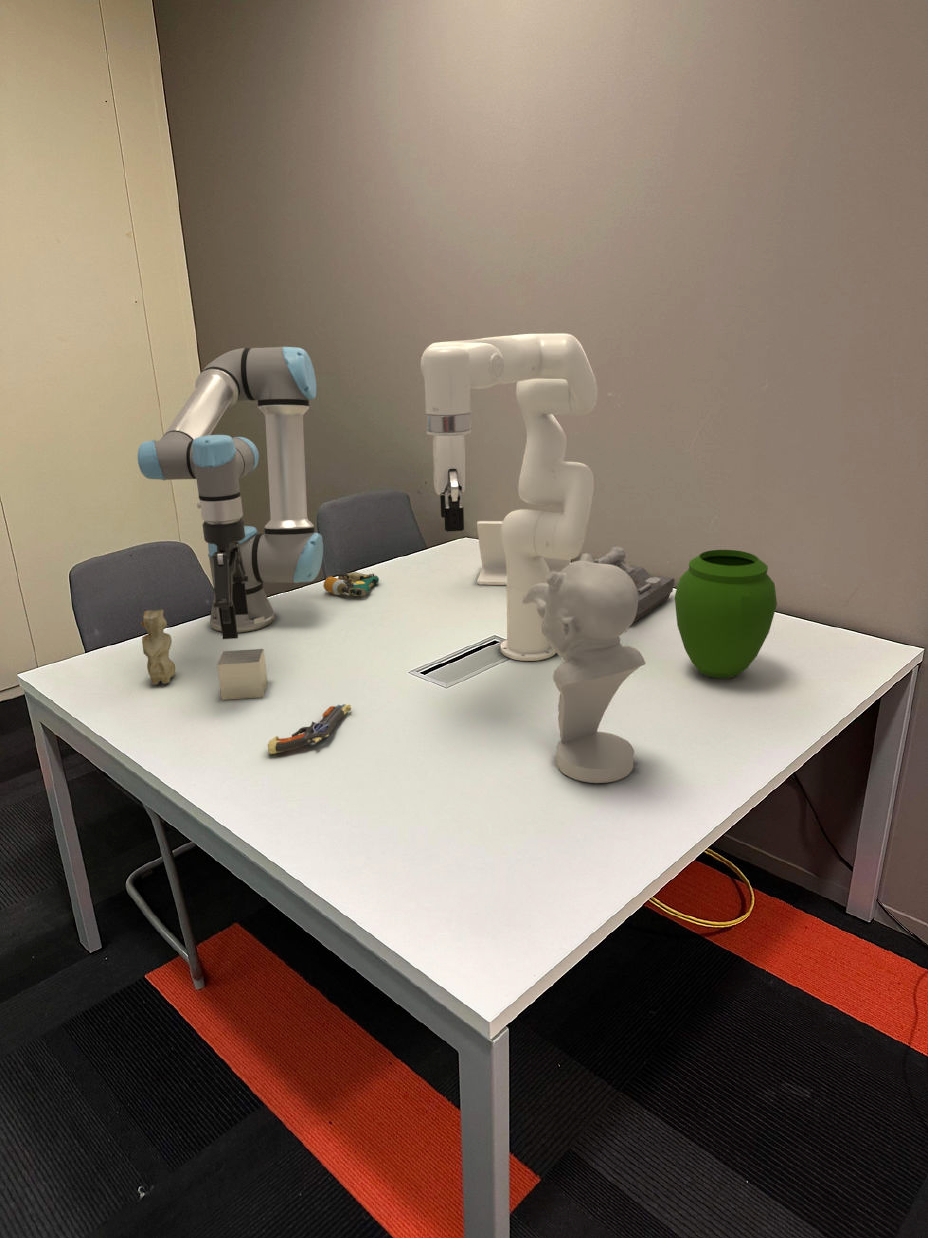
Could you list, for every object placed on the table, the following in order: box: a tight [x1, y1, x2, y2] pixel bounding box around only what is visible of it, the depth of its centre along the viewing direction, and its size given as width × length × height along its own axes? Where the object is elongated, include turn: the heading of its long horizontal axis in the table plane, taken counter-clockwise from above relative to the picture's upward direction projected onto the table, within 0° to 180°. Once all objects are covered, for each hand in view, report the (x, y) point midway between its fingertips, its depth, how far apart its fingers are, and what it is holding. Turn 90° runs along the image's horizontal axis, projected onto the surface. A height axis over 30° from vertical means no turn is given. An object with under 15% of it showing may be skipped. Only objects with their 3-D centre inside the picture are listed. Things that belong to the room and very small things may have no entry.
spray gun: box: [323, 571, 380, 597], centre depth 231 cm, size 4×17×15 cm
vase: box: [674, 549, 778, 680], centre depth 171 cm, size 20×20×24 cm
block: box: [216, 648, 268, 701], centre depth 171 cm, size 7×8×8 cm
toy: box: [593, 546, 676, 624], centre depth 212 cm, size 25×20×15 cm
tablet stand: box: [476, 520, 572, 586], centre depth 236 cm, size 18×25×17 cm
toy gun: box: [267, 703, 352, 755], centre depth 155 cm, size 3×19×10 cm
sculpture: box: [141, 608, 177, 685], centre depth 176 cm, size 6×7×15 cm
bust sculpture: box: [522, 553, 646, 784], centre depth 140 cm, size 16×24×35 cm, turn 28°
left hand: (236, 625), depth 168 cm, fingers open, 13 cm apart
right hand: (452, 523), depth 149 cm, fingers open, 9 cm apart
